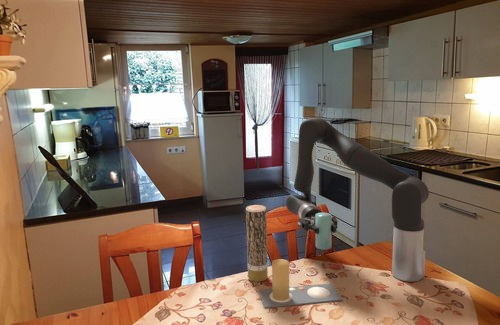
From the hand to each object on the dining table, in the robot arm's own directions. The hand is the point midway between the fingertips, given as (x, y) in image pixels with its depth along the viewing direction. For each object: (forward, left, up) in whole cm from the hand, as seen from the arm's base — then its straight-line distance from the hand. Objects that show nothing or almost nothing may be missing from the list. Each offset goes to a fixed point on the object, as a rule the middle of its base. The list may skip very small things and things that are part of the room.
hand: (326, 230), depth 118 cm
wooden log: (+22, -7, -18) cm, 29 cm away
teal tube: (0, -3, -7) cm, 7 cm away
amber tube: (+17, +7, -18) cm, 25 cm away
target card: (+11, +7, -18) cm, 22 cm away
